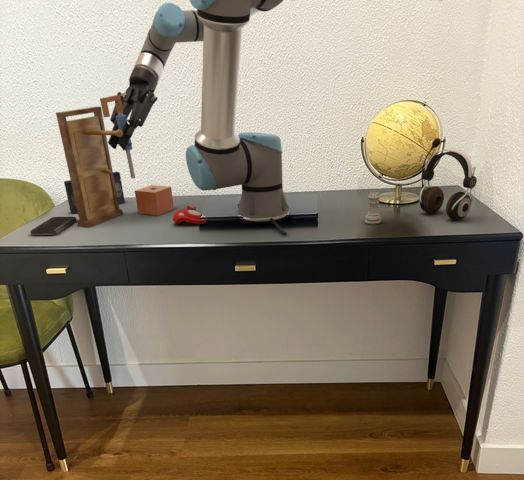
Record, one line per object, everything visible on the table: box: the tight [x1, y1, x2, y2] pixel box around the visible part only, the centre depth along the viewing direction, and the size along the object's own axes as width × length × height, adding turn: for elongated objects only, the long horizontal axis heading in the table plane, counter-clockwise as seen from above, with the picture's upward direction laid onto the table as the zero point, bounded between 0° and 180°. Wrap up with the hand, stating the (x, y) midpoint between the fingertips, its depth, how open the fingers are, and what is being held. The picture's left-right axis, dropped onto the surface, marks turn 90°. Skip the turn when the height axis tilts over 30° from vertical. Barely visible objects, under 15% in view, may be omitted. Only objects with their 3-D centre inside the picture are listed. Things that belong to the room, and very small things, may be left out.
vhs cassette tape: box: [63, 171, 126, 214], centre depth 174 cm, size 18×3×10 cm, turn 128°
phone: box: [30, 216, 77, 236], centre depth 157 cm, size 8×1×15 cm
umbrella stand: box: [134, 184, 175, 216], centre depth 167 cm, size 8×8×7 cm
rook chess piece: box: [364, 191, 382, 226], centre depth 145 cm, size 4×4×8 cm
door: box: [55, 106, 124, 228], centre depth 153 cm, size 15×16×31 cm
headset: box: [419, 137, 478, 221], centre depth 144 cm, size 17×8×20 cm, turn 34°
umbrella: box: [99, 94, 136, 179], centre depth 150 cm, size 8×3×22 cm, turn 151°
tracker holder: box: [172, 203, 208, 225], centre depth 156 cm, size 12×4×10 cm
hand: (116, 146), depth 149 cm, fingers closed on umbrella, 3 cm apart
